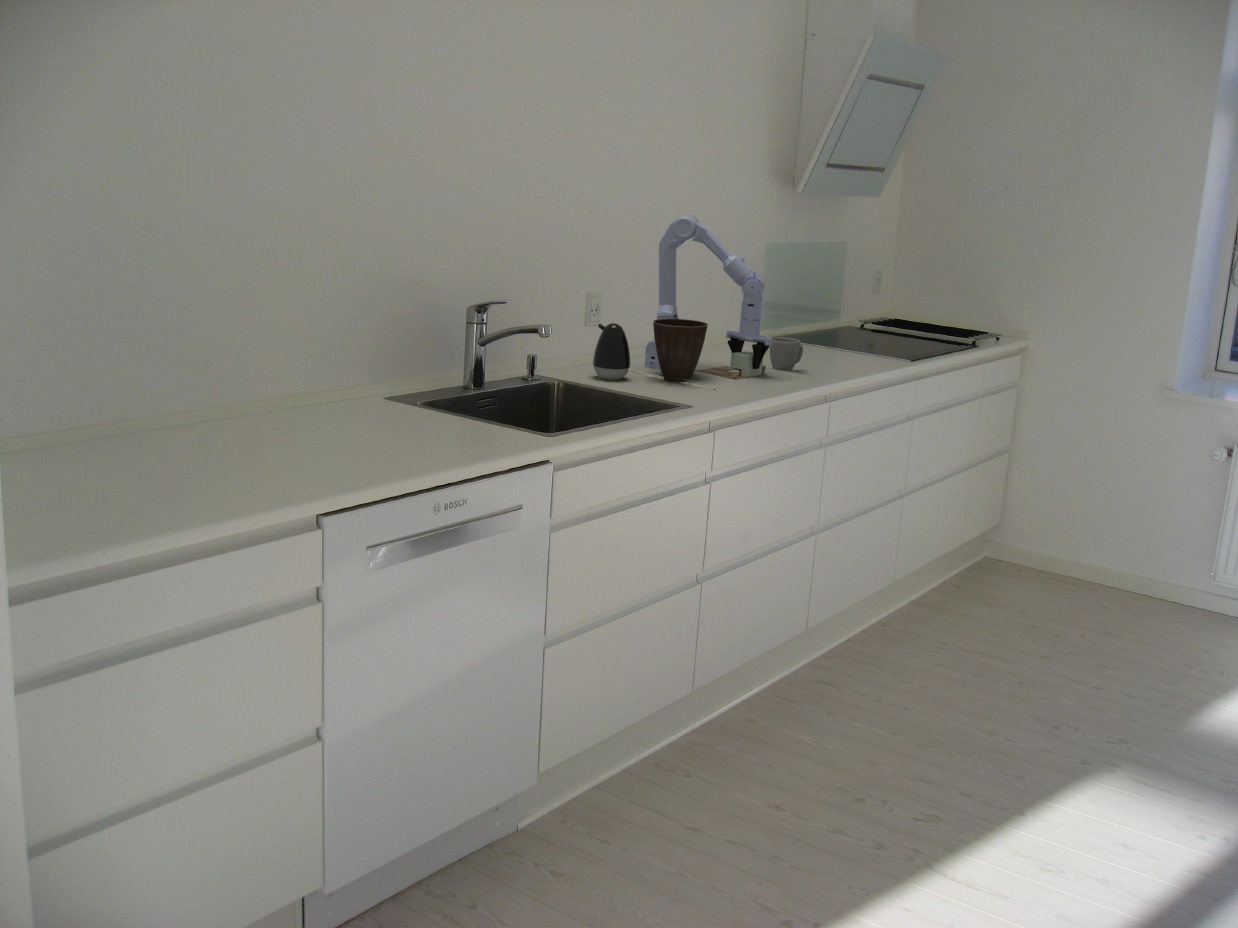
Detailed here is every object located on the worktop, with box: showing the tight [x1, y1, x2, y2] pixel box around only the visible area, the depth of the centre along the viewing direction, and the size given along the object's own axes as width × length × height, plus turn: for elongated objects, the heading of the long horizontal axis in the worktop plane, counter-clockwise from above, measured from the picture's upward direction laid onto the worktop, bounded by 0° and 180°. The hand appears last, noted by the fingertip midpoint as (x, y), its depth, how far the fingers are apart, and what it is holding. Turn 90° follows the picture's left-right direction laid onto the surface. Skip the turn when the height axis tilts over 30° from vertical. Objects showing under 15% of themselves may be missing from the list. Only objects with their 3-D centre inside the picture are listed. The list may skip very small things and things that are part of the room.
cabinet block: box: [729, 350, 765, 378], centre depth 319 cm, size 8×6×6 cm
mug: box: [769, 336, 804, 373], centre depth 334 cm, size 12×9×10 cm
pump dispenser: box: [592, 322, 631, 381], centre depth 305 cm, size 10×10×15 cm
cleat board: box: [695, 364, 768, 380], centre depth 321 cm, size 15×15×4 cm
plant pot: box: [652, 318, 709, 383], centre depth 309 cm, size 15×15×16 cm
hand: (746, 366), depth 320 cm, fingers open, 6 cm apart
